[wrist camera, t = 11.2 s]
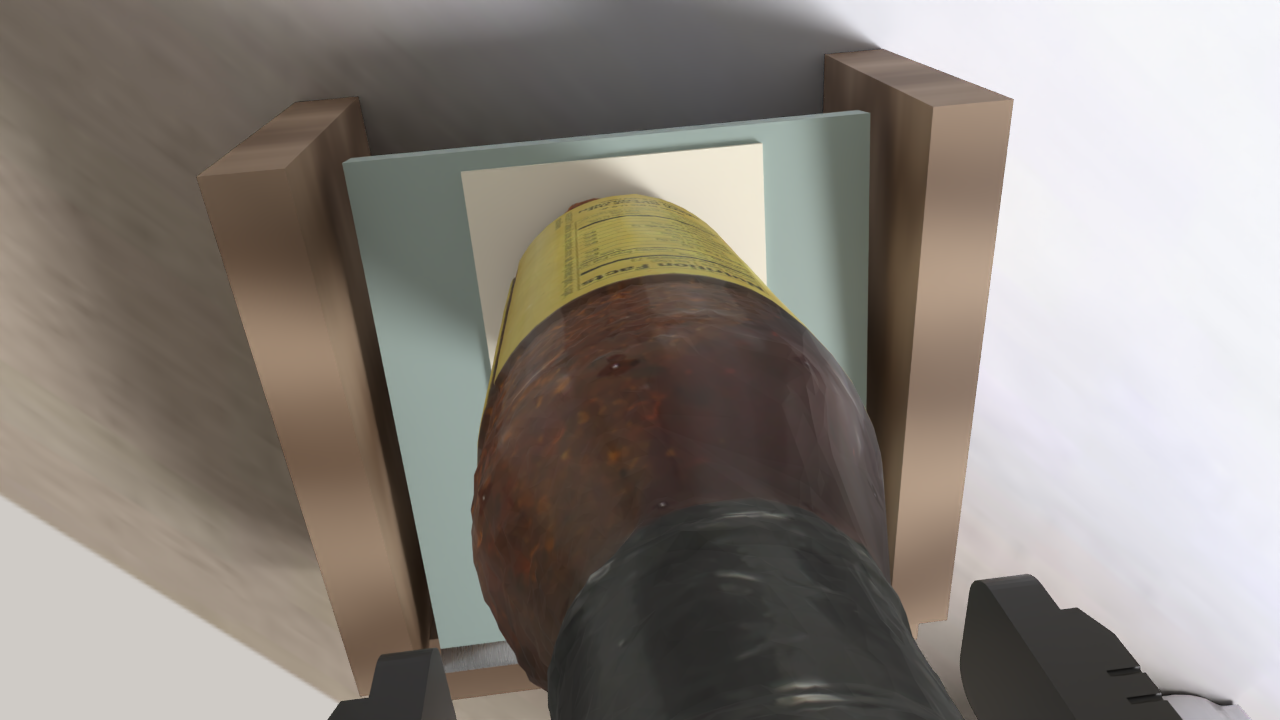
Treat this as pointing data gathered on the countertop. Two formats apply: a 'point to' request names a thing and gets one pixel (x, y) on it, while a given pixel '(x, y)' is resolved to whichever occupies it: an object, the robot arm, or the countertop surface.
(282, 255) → the frame
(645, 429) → the sauce bottle
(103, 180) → the countertop surface
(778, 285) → the trapdoor
